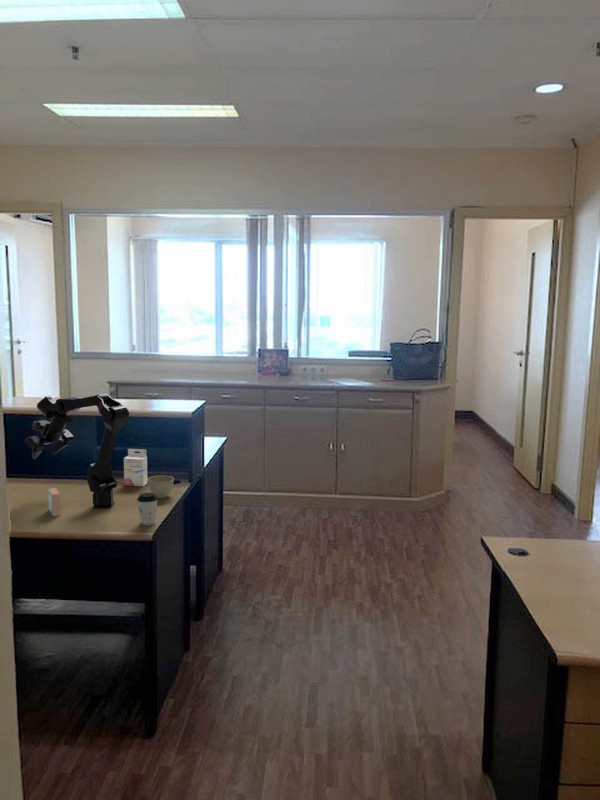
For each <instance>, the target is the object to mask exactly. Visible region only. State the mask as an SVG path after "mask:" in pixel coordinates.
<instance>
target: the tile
mask: <svg viewBox="0 0 600 800" xmlns="http://www.w3.org/2000/svg"><path fill="white" fill-rule="evenodd" d="M47 489H48V490H47V492H48V493H47V495H48V497H47V498H48V510H49V512H50V514H51V515H52V517H61V516H62V513H61V511H62V510H61V493H60V491H58V488H56V487H54V488H53V487H52V488H47Z"/></svg>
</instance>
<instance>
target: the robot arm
mask: <svg viewBox="0 0 600 800" xmlns="http://www.w3.org/2000/svg"><path fill="white" fill-rule="evenodd" d="M95 406H96V407H97V409H98V412H99V414H100V415H101V416H102V418H103V419H102V420H103V425H104V426H105V428H104V429H105V430H104V433H103V435H102V440H101V443H100V447H99V450H98V455H97V457H96V462H94V463H90V464H89V465H88V467H87V471H86V473H85V475H86V481H87V485H88V487H89V491H90V492H92V508H93V509H111V508H112V507H113V506H114V505H115V503H116V502H115V501H114V489H115V488H117V487H118V481H117V480H116V478H115V477H114V476H113V468H112V466H111V462H112V458H113V455H114V452H115V448H116V444H117V442H118V437H119V434H120V431H121V430H122V428H123V427H124V426H125V425H126V424H127V421H128V420H129V417H130V411H129V409H128V408H127V406H126V405H123V403H121V402H120V401H118V400H116V399H114V398H112V397H111V396H110V395H109V394H107V393H100V394H96V395H91V396H86V397H85V396H84V397H81V398H80V397H73V396H70V397H61V398H57V399H56V400H54V399H53V398H52V397H51V395H47V396H44V397H43V398H42V399H40V400H39V402H37V404H36V408H37V410H39V412H40V413H42V415H43V416H44V417H46V418H47V419H50V418H51V419H50V421H48V420H46V419H41V420H35V421H33V422H32V424H31V428H32V430H34V431H37V432H40V435H41V436H42V437H43V438H40V437H39V436H38V435H32V436H28V437H27V436H26V439H25V442H24V443H25V444H26V445H27V446H28V447H29V448H30V449H31V457H32V459H33V460H37V458H38V457H39V456H40V454H42V452H43V451H44V449H45V446H46V445H49V444H54V445H53V447H52V451H51V454H52V455H54V456H55V455H56V454H57V453H58V452H60V451H61V450H63V449H64V448H66V447H67V446H69V445H70V444H73V443H74V441H75V435H73V434H72V432H70V431H69V430H68V429H67V428H66V426H67V424H71V423H74V421H73V418H72V416H71V415H69V413H74V412H77V411H79V410H81V409H83V408H89V407H95ZM65 428H66V429H65Z"/></svg>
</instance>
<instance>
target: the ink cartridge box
mask: <svg viewBox="0 0 600 800" xmlns="http://www.w3.org/2000/svg"><path fill="white" fill-rule="evenodd" d="M123 484H124V486H128V487H130V486H131V487H132V486H133V487H145V486H146V485H147V484H148V456H147V449H146V448H145V449H144V448H141V449H140V448H127V455H126V456H125V457H123Z"/></svg>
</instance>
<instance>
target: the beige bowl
mask: <svg viewBox="0 0 600 800" xmlns="http://www.w3.org/2000/svg"><path fill="white" fill-rule="evenodd" d="M174 481H175V478H174V477H173V476H171V475H154V476H150V477H147V484H148V488H149V490H150V493H154V494H155V495H156V496H157V497H158V499H165V498H168V496H169V495H170V493H171V491H172V489H173V486H174Z"/></svg>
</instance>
